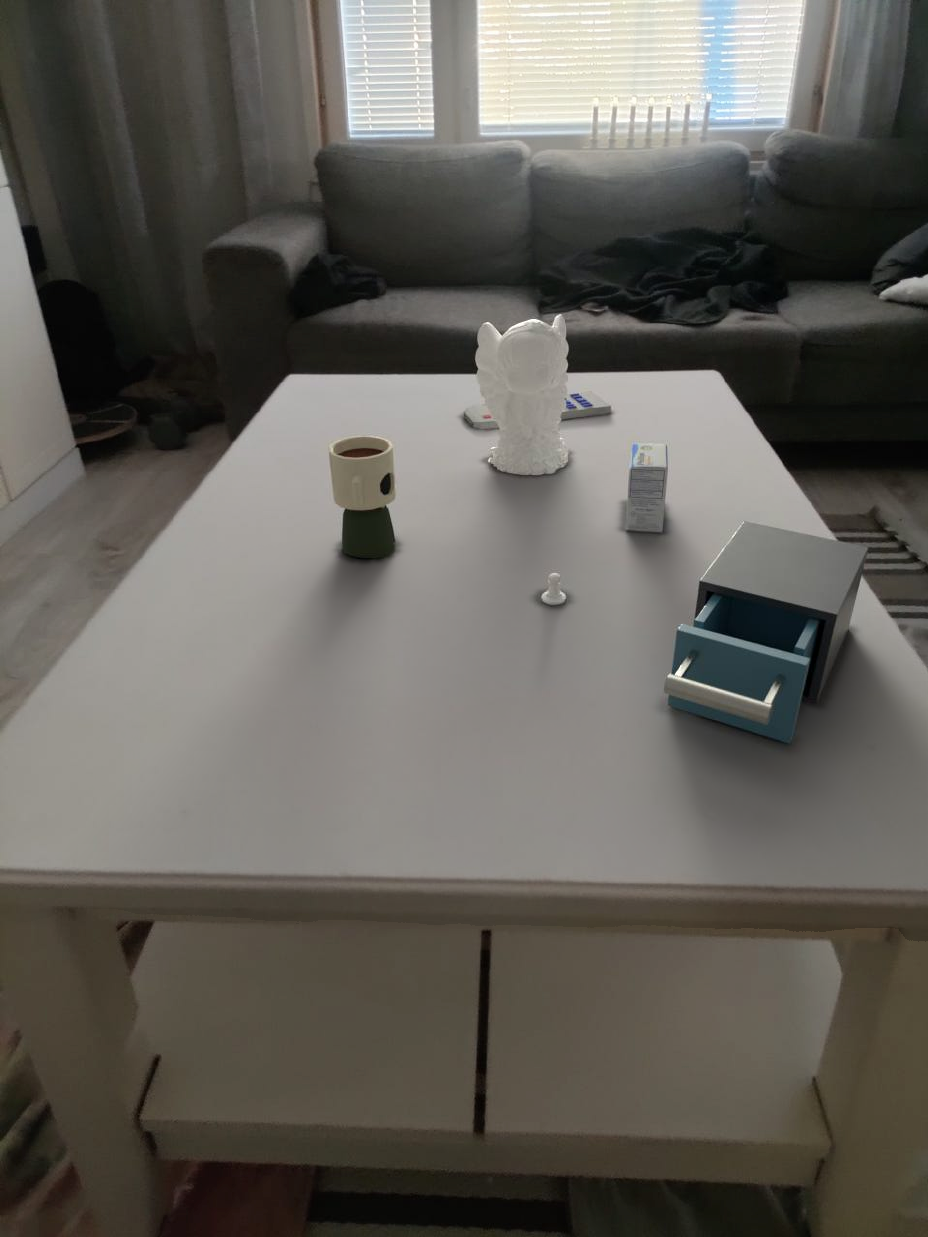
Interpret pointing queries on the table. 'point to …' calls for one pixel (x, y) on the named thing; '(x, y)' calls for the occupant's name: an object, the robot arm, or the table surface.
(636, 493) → the medicine box
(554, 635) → the table surface
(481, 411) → the remote control
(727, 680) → the open teal drawer
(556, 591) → the chess pawn
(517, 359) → the cherub figurine
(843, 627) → the small drawer unit
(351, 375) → the table surface
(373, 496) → the character mug
